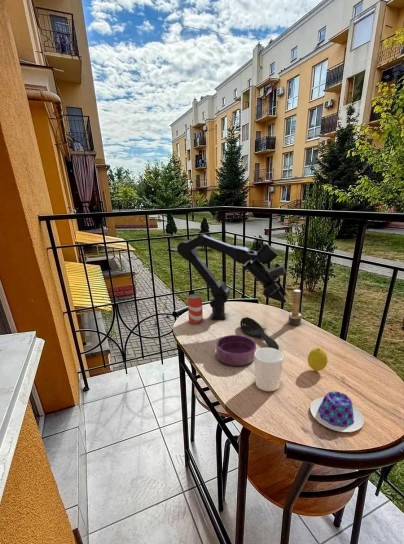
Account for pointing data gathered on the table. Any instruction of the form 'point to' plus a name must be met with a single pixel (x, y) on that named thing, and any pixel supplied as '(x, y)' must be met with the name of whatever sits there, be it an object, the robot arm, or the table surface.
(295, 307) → the dish brush
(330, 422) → the blue patterned hat
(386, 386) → the table surface
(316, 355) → the lemon
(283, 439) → the table surface
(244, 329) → the hairbrush
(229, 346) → the bowl
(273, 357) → the white cup
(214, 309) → the robot arm
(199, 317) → the beverage can
